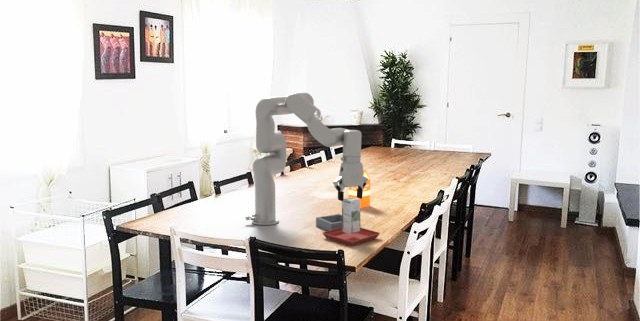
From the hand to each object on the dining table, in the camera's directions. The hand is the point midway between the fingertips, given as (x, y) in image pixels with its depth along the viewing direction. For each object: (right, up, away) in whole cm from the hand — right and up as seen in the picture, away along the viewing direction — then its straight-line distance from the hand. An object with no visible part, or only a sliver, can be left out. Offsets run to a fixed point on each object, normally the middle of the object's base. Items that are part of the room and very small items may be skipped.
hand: (350, 199), depth 230 cm
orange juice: (+8, -8, +63) cm, 64 cm away
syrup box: (+1, -14, +2) cm, 14 cm away
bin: (-6, -14, +19) cm, 25 cm away
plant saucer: (0, -18, +2) cm, 18 cm away
